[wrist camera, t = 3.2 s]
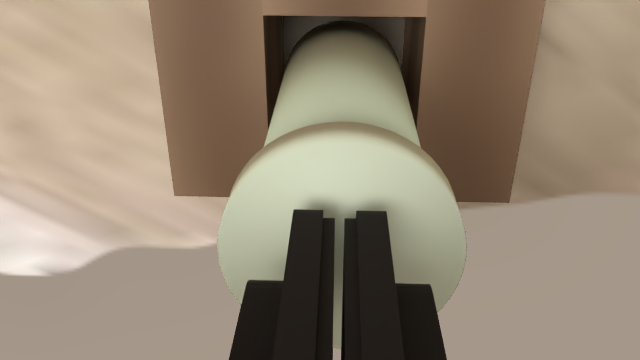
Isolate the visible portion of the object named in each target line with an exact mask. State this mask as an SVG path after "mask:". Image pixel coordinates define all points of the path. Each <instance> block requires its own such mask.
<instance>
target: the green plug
mask: <svg viewBox="0 0 640 360" xmlns="http://www.w3.org/2000/svg"><path fill="white" fill-rule="evenodd" d="M294 209H303V210H323V213H324V218H335V245H334V305H333V348H341V334H342V295H343V256H344V219H345V218H356V211H386V212H387V218H388V227H389V235H390V243H391V251H392V259H393V268H394V276H395V283H405V284H430V285H431V287H432V291H433V295H434V300H435V305H436V310H437V312H438V311H439V310H440V309H442V308H443V306H444V305H445V304H446V303H447V301H448V300H449V299H450V297H451V296H452V294H453V292H454V291H455V289H456V287H457V286H458V283H459V281H460V278H461V276H462V273H463V270H464V265H465V261H466V250H467V249H466V248H467V244H466V233H465V229H464V225H463V221H462V218H461V215H460V211H459V208H458V205H457V202H456V199H455V196H454V193H453V190H452V188H451V186H450V184H449V181H448V179H447V178H446V176H445V174H444V173H443V171H442V170H441V168H440V167H439V166H438V164H437V163H436V162H435V161H434V160H433V159H432V158H431V156H429V155H428V154H427V153H426V152H425V151H424V150H423V149H421V146H420V142H419V138H418V134H417V131H416V127H415V123H414V119H413V115H412V111H411V108H410V104H409V100H408V96H407V92H406V88H405V85H404V81H403V77H402V73H401V69H400V65H399V62H398V58H397V56H396V53H395V51H394V49H393V48H392V46H391V45H390V43H389V42H388V41H387V40H386V39H385V38H384V37H383V36H382V35H381V34H380V33H379V32H377V31H376V30H374V29H373V28H371V27H369V26H367V25H364V24H361V23H357V22H353V21H334V22H329V23H326V24H323V25H320V26H318V27H316V28H314V29H312V30H311V31H309V32H308V33H307V34H305V35H304V36H303V37H302V38H301V39H300V40H299V41H298V43H297V44H296V45H295V47H294V48H293V50H292V52H291V54H290V56H289V59H288V62H287V66H286V69H285V73H284V76H283V80H282V83H281V87H280V91H279V94H278V98H277V101H276V105H275V108H274V112H273V116H272V119H271V123H270V126H269V130H268V133H267V137H266V141H265V144H264V147H263V148H262V149H261V150H260V151H258V152H257V153H256V154H255V155H254V156H253V157H252V158H251V159H250V160H249V161H248V163H247V164H246V165H245V166H244V168H243V169H242V171H241V172H240V174H239V175H238V177H237V179H236V181H235V183H234V185H233V187H232V190H231V193H230V196H229V199H228V202H227V205H226V208H225V211H224V214H223V217H222V220H221V223H220V226H219V233H218V240H217V241H218V258H219V263H220V268H221V271H222V274H223V277H224V280H225V281H226V283H227V285H228V287H229V289H230V291H231V293H232V294H233V295H234V297H235V298H236V300H237V301H238V302H239V304H240V305H241V304H242V300H243V295H244V291H245V287H246V284H247V281H248V280H278V281H283V279H284V272H285V265H286V258H287V251H288V244H289V237H290V230H291V223H292V216H293V210H294Z"/></svg>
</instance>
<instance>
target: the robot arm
mask: <svg viewBox="0 0 640 360" xmlns="http://www.w3.org/2000/svg"><path fill="white" fill-rule="evenodd" d="M334 245H335V218H324V213H323V210H303V209H294V210H293V216H292V223H291V230H290V237H289V244H288V251H287V258H286V265H285V272H284V279H283V281H278V280H248V281H247V284H246V287H245V291H244V295H243V300H242V304H241V309H240V313H239V317H238V322H237V326H236V331H235V335H234V339H233V344H232V348H231V353H230V357H229V360H332V359H333V305H334ZM341 360H447V359H446V354H445V349H444V344H443V339H442V334H441V330H440V325H439V320H438V315H437V310H436V305H435V300H434V295H433V291H432V287H431V285H430V284H405V283H395V276H394V268H393V259H392V251H391V243H390V235H389V227H388V218H387V212H386V211H356V218H345V219H344V256H343V295H342V334H341Z"/></svg>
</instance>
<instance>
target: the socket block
mask: <svg viewBox="0 0 640 360" xmlns="http://www.w3.org/2000/svg"><path fill="white" fill-rule="evenodd" d="M148 1H149V8H150V16H151V23H152V31H153V38H154V46H155V53H156V61H157V68H158V76H159V83H160V91H161V98H162V106H163V113H164V121H165V128H166V136H167V143H168V151H169V158H170V166H171V173H172V181H173V189H174V196H208V197H229V196H230V193H231V190H232V187H233V185H234V183H235V181H236V179H237V177H238V175H239V174H240V172H241V171H242V169H243V168H244V166H245V165H246V164H247V163H248V161H249V160H250V159H251V158H252V157H253V156H254V155H255V154H256V153H257V152H258V151H260V150H261V149H262V148H263V147H264V144H265V141H266V137H267V133H268V130H269V126H270V123H271V119H272V116H273V112H274V108H275V105H276V101H277V98H278V94H279V91H280V87H281V83H282V80H283V76H284V58H283V23H282V16H373V17H405V30H404V44H403V59H402V77H403V81H404V85H405V88H406V92H407V96H408V100H409V104H410V108H411V111H412V115H413V119H414V123H415V127H416V131H417V134H418V138H419V142H420V146H421V149H423V150H424V151H425V152H426V153H427V154H428V155H429V156H431V158H432V159H433V160H434V161H435V162H436V163H437V164H438V166H439V167H440V168H441V170H442V171H443V173H444V174H445V176H446V178H447V179H448V181H449V184H450V186H451V188H452V190H453V193H454V196H455V199H456V202H500V203H509V201H510V195H511V190H512V184H513V179H514V173H515V167H516V162H517V156H518V151H519V145H520V140H521V134H522V128H523V123H524V117H525V112H526V106H527V101H528V95H529V90H530V84H531V78H532V73H533V67H534V62H535V56H536V51H537V45H538V39H539V34H540V28H541V23H542V17H543V12H544V6H545V0H148Z"/></svg>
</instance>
